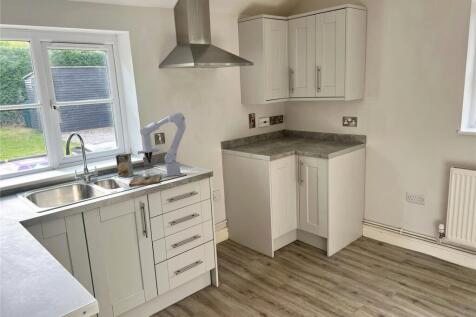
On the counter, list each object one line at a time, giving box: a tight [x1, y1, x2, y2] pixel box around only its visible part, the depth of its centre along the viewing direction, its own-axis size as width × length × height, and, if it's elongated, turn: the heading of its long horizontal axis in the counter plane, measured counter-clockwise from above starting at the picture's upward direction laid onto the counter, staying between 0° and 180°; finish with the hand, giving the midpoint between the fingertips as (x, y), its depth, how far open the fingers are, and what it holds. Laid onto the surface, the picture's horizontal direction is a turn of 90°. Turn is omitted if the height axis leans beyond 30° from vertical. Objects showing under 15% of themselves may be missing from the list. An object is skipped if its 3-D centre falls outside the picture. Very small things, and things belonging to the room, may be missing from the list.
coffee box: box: [115, 153, 134, 178], centre depth 257 cm, size 9×6×16 cm
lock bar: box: [143, 171, 150, 179], centre depth 243 cm, size 10×3×2 cm, turn 9°
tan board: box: [128, 173, 162, 187], centre depth 240 cm, size 19×22×1 cm
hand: (149, 162), depth 252 cm, fingers closed
